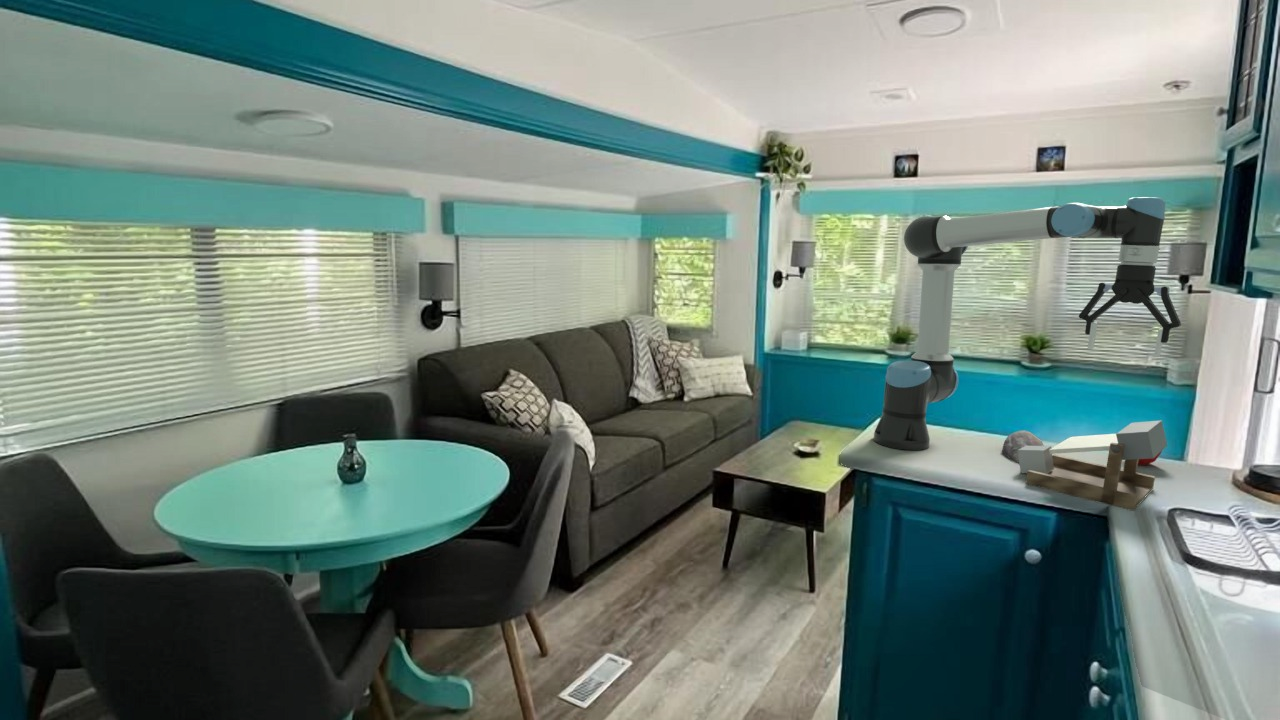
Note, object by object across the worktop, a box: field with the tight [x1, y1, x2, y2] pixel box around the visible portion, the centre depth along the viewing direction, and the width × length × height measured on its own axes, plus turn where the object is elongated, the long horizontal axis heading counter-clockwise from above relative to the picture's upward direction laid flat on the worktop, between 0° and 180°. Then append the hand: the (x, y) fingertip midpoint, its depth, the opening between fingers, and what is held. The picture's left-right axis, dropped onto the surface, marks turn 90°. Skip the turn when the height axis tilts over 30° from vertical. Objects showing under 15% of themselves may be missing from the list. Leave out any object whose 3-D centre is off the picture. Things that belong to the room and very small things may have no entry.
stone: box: [1001, 430, 1045, 463], centre depth 191 cm, size 17×10×10 cm
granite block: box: [1018, 445, 1054, 474], centre depth 177 cm, size 6×6×6 cm
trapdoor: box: [1049, 420, 1168, 461], centre depth 165 cm, size 20×18×6 cm
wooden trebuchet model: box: [1025, 443, 1156, 512], centre depth 168 cm, size 22×22×14 cm
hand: (1122, 352), depth 168 cm, fingers open, 13 cm apart
